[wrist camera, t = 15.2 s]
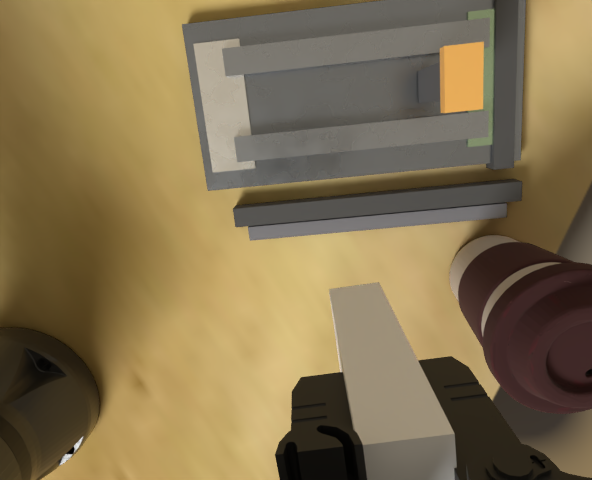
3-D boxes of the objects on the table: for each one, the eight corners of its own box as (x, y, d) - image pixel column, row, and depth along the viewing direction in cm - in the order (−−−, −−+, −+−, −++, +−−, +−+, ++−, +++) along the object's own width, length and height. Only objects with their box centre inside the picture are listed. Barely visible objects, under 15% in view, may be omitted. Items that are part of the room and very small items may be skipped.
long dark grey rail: (240, 237, 40) (237, 242, 38) (236, 205, 39) (233, 209, 38) (512, 213, 39) (520, 217, 37) (513, 178, 38) (522, 181, 36)
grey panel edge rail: (486, 167, 38) (493, 169, 36) (488, -16, 34) (496, -23, 32) (505, 165, 38) (513, 167, 36) (509, -19, 34) (519, -25, 32)
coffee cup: (422, 236, 39) (487, 305, 25) (535, 205, 38) (671, 259, 24) (444, 333, 42) (516, 447, 27) (551, 306, 41) (684, 411, 26)
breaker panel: (210, 188, 39) (205, 192, 37) (186, 27, 35) (178, 21, 33) (513, 158, 37) (526, 161, 35) (518, -13, 34) (532, -21, 32)
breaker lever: (419, 113, 35) (445, 113, 28) (417, 59, 34) (444, 46, 27) (449, 110, 35) (483, 109, 28) (449, 56, 34) (483, 41, 27)
